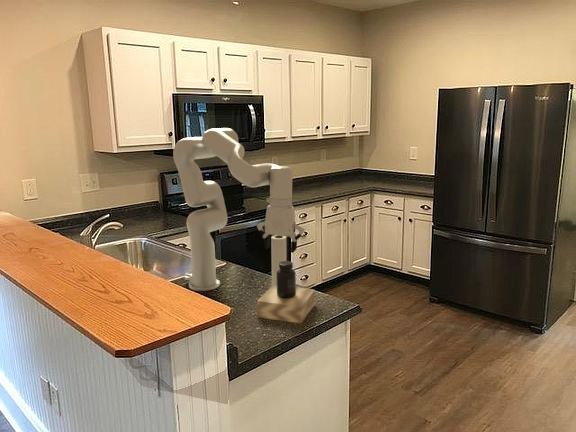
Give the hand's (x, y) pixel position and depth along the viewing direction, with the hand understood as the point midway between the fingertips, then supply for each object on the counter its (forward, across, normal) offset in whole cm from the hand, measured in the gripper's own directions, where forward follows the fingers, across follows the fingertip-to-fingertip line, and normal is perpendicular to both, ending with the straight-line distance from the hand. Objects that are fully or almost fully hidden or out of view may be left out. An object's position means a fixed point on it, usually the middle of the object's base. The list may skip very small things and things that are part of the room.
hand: (280, 249), depth 163 cm
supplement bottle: (+16, +3, -2) cm, 16 cm away
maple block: (+22, +4, -2) cm, 22 cm away
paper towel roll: (+23, -7, +19) cm, 30 cm away
